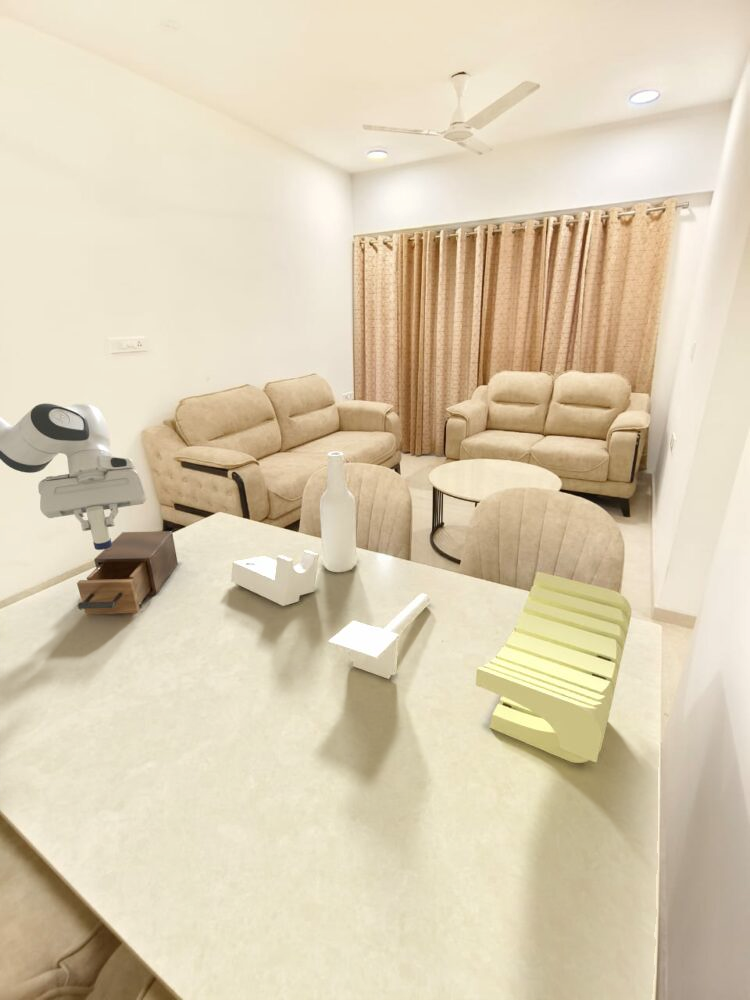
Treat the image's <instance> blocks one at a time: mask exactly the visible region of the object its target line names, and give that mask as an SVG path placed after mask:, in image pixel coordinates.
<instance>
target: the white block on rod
mask: <svg viewBox="0 0 750 1000" xmlns="http://www.w3.org/2000/svg"><path fill="white" fill-rule="evenodd" d="M430 603H431V598H430V596H429V595H427V594H426V593H420V594H419V595H417V597H416V598H415V599H413V600H412V601H411V602H410V603H409V604H408V605H407V606H406V607H405V608H404V609H403V610H402V611H401V612H400V613H398V615H396V616H395V617H394V619H392V620H391V621H390V622H389V623H388V624H387V625H386V626H385V627H384V628H382V627H378V626H373V625H369V624H366V623H363V622H360V621H357V620H352V621H351V622H349V623H348V624H347V625H346V626H345V627H344V628H342V629H341V630H340V631H338V632H337V633H336V634H335V635H333V637H331V638H330V639H329V640H328V641H327V642H328V643H327V644H328V645H331V646H334V647H336V648H340V649H342V650H346V651H348V652H349V654H348V660H349V661H352V666H353V667H354V668H357V669H360V670H362V671H365V672H368V673H370V674H373V675H376V676H378V677H381V678H385V679H388V680H390V678H391V677H392V676H395V675H396V674H397V670H398V669H397V667H398V652H399V638H400V637H399V636H400V634H401V633H403V631H404V630H406V628H407V627H408V626H410V624H411V623H412V622H413V621H415V619H416V618H417V617H418V616H419V615H420V614H421V613H422V612H423V611H424V610H425V608H427V607H428V605H430Z"/></svg>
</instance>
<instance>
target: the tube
mask: <svg viewBox="0 0 750 1000" xmlns="http://www.w3.org/2000/svg"><path fill="white" fill-rule="evenodd" d="M85 514H86V517H87V520H88V521H89V525H90V529H91V530H90V532H91V537H92V540H93V542H92V543H93V546H94V550H96V551H103V550H105V549H107V548H109V547H111V546H112V542H113V541H112V538H111V536H110V532H109V527H107V526H106V521H105V517H106V515H105V510H103V507H102V506H92V507H89V508H87V509H86V513H85Z"/></svg>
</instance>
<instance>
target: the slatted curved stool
mask: <svg viewBox="0 0 750 1000" xmlns="http://www.w3.org/2000/svg"><path fill="white" fill-rule="evenodd" d="M522 609H523V610H522V611H521V613H520V615H519V617H518V620H517V621H516V623H515V626H514V630H512V631H511V634H509V637H508V639H507V640H506V642H505V645H503V646H502V647H501V649H500V650H499V651H498V653H496V655H495V657H493V658H492V659H491V660H489V662H486V663H485V664H483V666H479V667H477V668H476V674H475V675H476V676H475V686H476V687H479V688H482V689H484V690H487V691H489V692H492V693H494V694H496V695H499V696H501V697H500V699H499V703H497V705H496V706H495V708H494V710H493V712H492V715H491V719H490V723H489V727H488V728H490V729H492V730H494V731H496V732H498V733H501V734H503V735H506V736H509V737H511V738H513V739H515V740H517V741H519V742H523V743H525V744H527V745H530V746H531V747H534V748H537V749H539V750H542V751H544V752H546V753H548V754H551V755H553V756H556V757H558V758H560V759H563V760H565V761H567V762H570V763H574V764H581V763H582V764H583V763H587V762H589V761H591V762H594V763H596V764H597V763H598V758H599V754H600V752H601V750H602V746H603V742H604V738H605V734H606V730H607V725H608V721H609V717H610V712H611V709H612V704H613V700H614V695H615V691H616V685H617V681H618V676H619V671H620V668H621V667H620V666H621V662H622V658H623V654H624V649H625V646H626V641H627V637H628V632H629V629H630V628H629V627H630V622H631V617H632V606H631V605H630V602H629V601H628V599H627V598H626V597H625V596H624V595H622V594H621V593H620V592H618V591H616V590H612V589H609V588H606V587H601V586H599V585H594V584H590V583H585V582H581V581H577V580H573V579H570V578H565V577H562V576H557V575H553V574H549V573H545V572H541V571H537V572H536V574H535V577H534V580H533V585H531V588H530V591H529V593H528V599H526V601H525V604H524V605H523V608H522Z"/></svg>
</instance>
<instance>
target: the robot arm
mask: <svg viewBox="0 0 750 1000" xmlns="http://www.w3.org/2000/svg"><path fill="white" fill-rule="evenodd" d="M110 446H111V439H110V433H109V428H108V424H107V421H106V419H105V417H104V415H103V413H102V412H101V411H100V410H99V409H98V408H97V407H95V406H93V405H90V404H86V403H75V404H72V405H70V406H60V405H58V404H53V403H46V402H45V403H39V404H37V405H35V406H34V407H33V408H31V409H30V410H29V411H28V412H27V413H26V414H25V415H24V416H23V417H21V419H20V420H18V422H17V423H16V424H15V425H12V424H10V423H8V422H7V421H5V420H4V419H3V418H2V417H1V416H0V461H2V463H4V464H5V465H6V466H7V467H9V468H11V469H12V470H15V471H18V472H21V473H28V474H33V473H39V472H40V471H42V470H44V469H45V468H46V467H47V466H48V465H49V464H50V463H51V462H52V460H54V458H56V456H58V455H59V454H63V455H65V456H66V458H67V466H68V469H67V470H68V473H66V474H60V475H55V476H54V475H50V476H46V477H45V478H43V479H42V480H40V481H39V482H38V486H37V487H38V493H39V495H40V500H39V507H40V508H39V509H40V511H41V513H42V514H43V515H44V516H45V517H46V518H48V519H54V518H60V517H66V516H74V517H75V518H76V519H77V521H78V522H79V523H80V524H81V525H80V526H81V530H82V532H87V531H91V529H90V525H89V521H88V519H84V517H85V516H84V515H85V514H87V513H86V509H87V508H89V507H92V506H102V507H103V510H104V511H106V510H110V513H109V515H108V516H105V521H106V526H107V527H108V528H110V527H111V528H112V527H115V526H116V525H115V519H116V517H117V515H118V513H119V508H125V507H132V506H139V505H144V504H145V503H146V501H147V496H146V491H145V487H144V484H143V481H142V479H141V476H140V475H139V472H137V470H136V466H135V463H134V462H133V460H132V459H131V458H128V457H127V458H126V457H120V456H119V457H118V456H112V453H111V451H110Z"/></svg>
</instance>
